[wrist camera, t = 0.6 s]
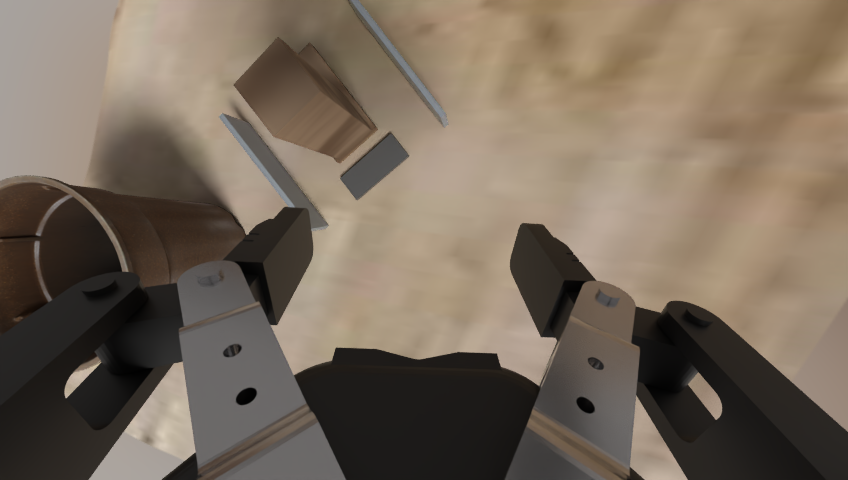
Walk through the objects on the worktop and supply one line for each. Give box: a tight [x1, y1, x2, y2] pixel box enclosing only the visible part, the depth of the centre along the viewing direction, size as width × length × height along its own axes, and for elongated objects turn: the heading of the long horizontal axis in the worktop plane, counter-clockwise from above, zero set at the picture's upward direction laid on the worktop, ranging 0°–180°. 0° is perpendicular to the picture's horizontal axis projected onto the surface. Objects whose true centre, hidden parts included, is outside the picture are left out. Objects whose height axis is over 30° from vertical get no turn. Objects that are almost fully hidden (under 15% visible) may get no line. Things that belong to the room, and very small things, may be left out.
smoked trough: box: [219, 0, 448, 231], centre depth 33 cm, size 16×19×4 cm
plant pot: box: [0, 176, 245, 372], centre depth 32 cm, size 16×16×16 cm
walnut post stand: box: [234, 37, 378, 163], centre depth 29 cm, size 12×6×13 cm, turn 38°
